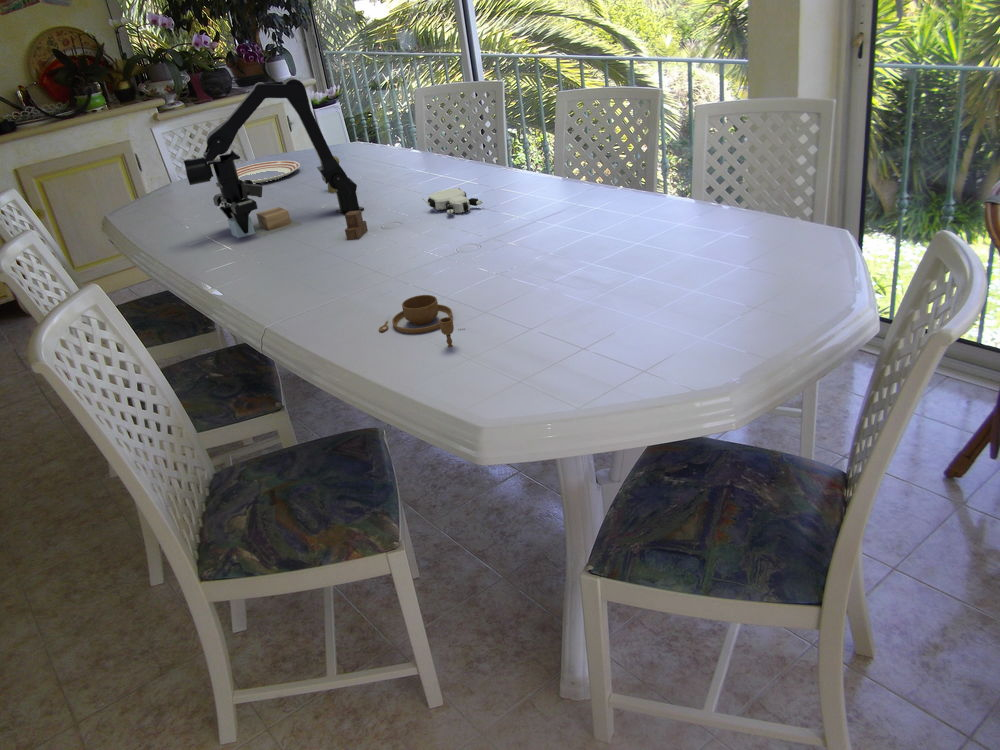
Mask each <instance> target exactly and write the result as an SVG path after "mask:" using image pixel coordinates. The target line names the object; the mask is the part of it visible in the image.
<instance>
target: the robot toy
mask: <svg viewBox="0 0 1000 750" xmlns="http://www.w3.org/2000/svg"><path fill="white" fill-rule="evenodd" d="M421 199H422V200H423V201H424V202H425V203H426V204H427V206H429V207H431V208H433V209H434V210H437V211H439V210H441V211H444V210H446V213H447V214H449V215H450V214H453V213H454V212H455V213H454V214H456V213H459V214H463V213H465V211H466V212H468V211H470V208H471V207H470V206H473V207H477V206H479V205H482V204H483V203H484V202H483V200H479V198H474V197H471V198H470V199H469V198H468V197H467V192H465V191H464V190H462V189H461V188H460V187H459V186H458V187H457V188H447V189H443V190H439V191H436V192H433V193H431V194H430V195H429V196H428V199H427V200H426V199H425V198H424V197H421ZM467 210H468V211H467ZM462 212H463V213H462Z"/></svg>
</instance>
